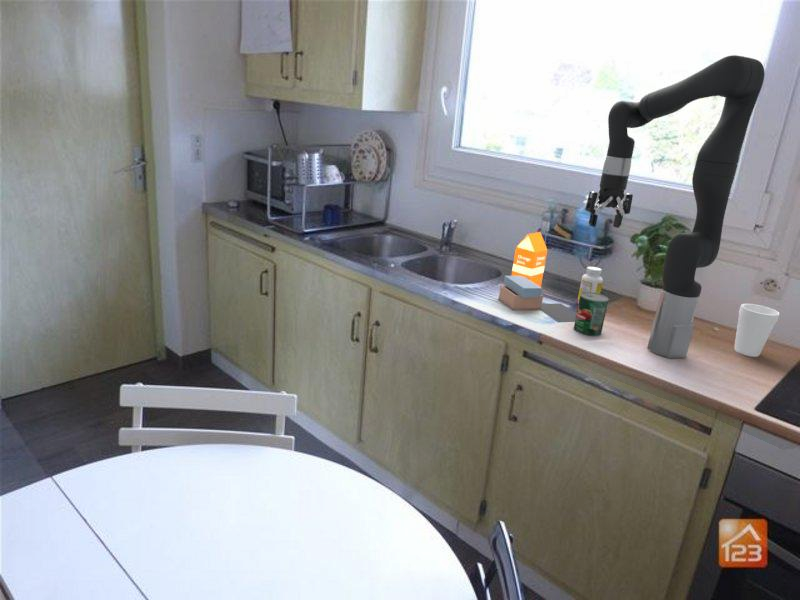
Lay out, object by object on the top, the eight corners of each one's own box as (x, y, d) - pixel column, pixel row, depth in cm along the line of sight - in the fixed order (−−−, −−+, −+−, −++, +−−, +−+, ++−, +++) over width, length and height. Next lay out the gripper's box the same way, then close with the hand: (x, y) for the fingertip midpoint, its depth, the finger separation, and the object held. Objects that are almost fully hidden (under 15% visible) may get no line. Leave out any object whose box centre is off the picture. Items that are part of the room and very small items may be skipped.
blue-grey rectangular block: (540, 297, 177) (542, 288, 176) (522, 297, 175) (523, 288, 174) (520, 284, 188) (522, 275, 187) (503, 284, 186) (504, 275, 185)
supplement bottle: (594, 303, 193) (602, 266, 188) (599, 309, 186) (607, 272, 182) (574, 300, 193) (582, 264, 189) (578, 307, 187) (586, 269, 183)
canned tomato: (606, 334, 165) (614, 298, 162) (591, 339, 160) (599, 302, 157) (582, 325, 171) (589, 290, 167) (567, 329, 166) (574, 294, 162)
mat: (589, 322, 173) (589, 321, 173) (557, 323, 170) (558, 322, 170) (560, 304, 188) (560, 303, 188) (531, 305, 184) (531, 303, 184)
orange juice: (540, 288, 204) (550, 234, 197) (527, 292, 197) (537, 236, 191) (522, 282, 208) (531, 229, 202) (509, 286, 202) (517, 231, 196)
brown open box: (540, 310, 180) (543, 295, 178) (512, 311, 177) (514, 295, 175) (525, 299, 189) (527, 285, 187) (498, 300, 186) (500, 285, 184)
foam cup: (731, 342, 168) (744, 301, 164) (767, 352, 162) (781, 310, 158) (725, 351, 161) (738, 308, 156) (762, 362, 155) (777, 317, 151)
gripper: (603, 173, 162) (591, 229, 167) (644, 176, 166) (631, 230, 172) (587, 169, 169) (577, 223, 174) (627, 172, 173) (616, 224, 178)
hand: (604, 226), depth 173 cm, fingers open, 8 cm apart
